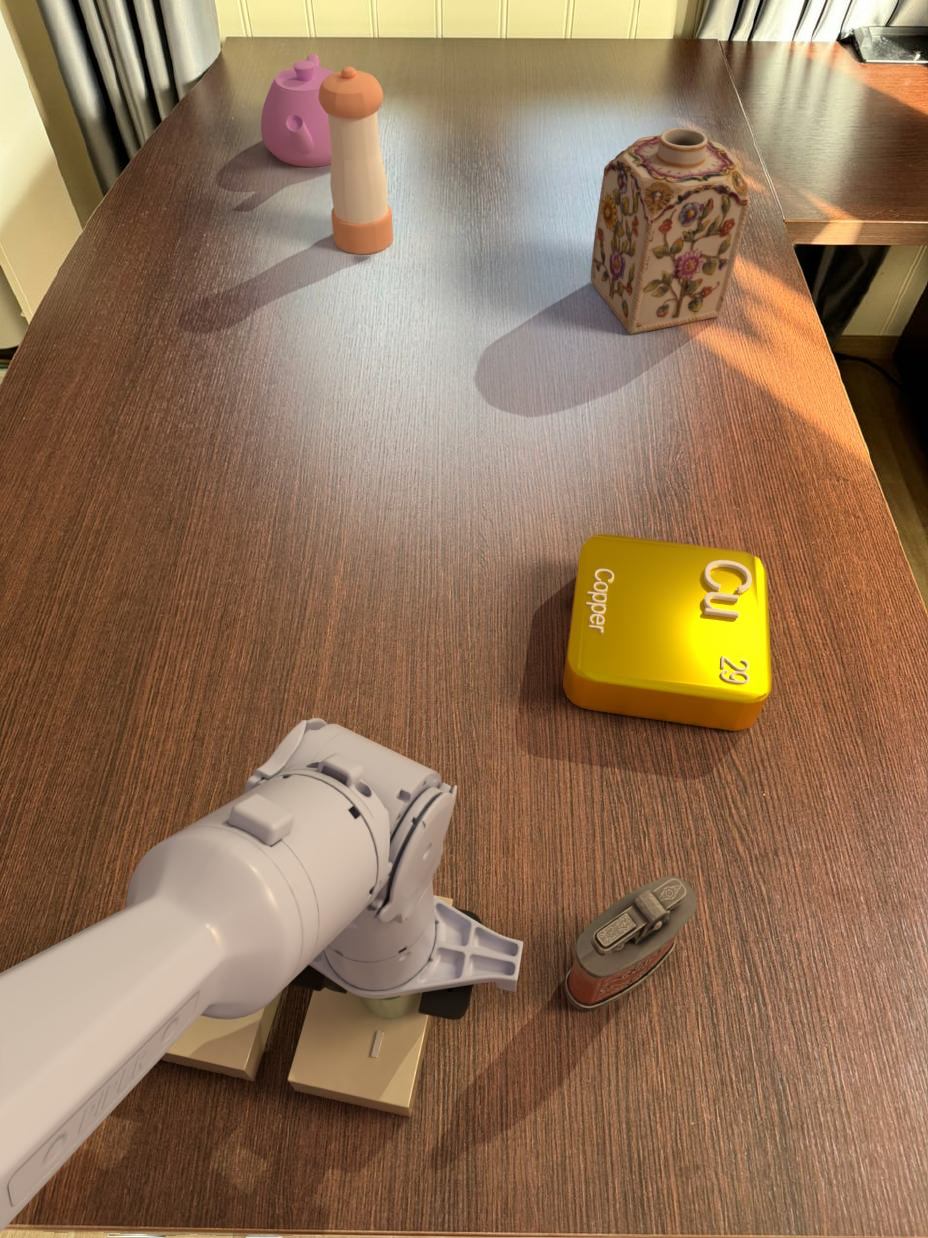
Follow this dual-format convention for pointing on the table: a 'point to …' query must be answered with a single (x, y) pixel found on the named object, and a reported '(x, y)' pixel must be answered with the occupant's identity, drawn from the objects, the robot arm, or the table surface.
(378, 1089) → the dial knob base
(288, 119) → the teapot
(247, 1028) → the tan base plate
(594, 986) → the lighter
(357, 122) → the pepper shaker
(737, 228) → the decorative jar
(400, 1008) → the knob
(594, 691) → the element tile
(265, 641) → the table surface
